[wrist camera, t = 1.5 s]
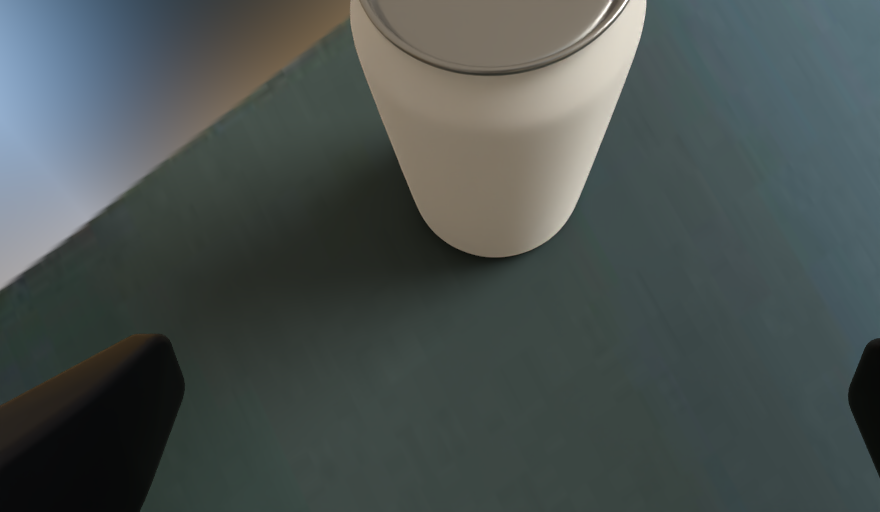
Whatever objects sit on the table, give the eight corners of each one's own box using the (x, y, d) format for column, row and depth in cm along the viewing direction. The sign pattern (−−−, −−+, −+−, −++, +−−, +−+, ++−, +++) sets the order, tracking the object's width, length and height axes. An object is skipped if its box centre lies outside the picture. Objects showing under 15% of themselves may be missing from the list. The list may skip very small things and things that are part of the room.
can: (431, 96, 24) (369, -199, 12) (590, 117, 23) (686, -180, 11) (397, 245, 22) (290, 70, 11) (566, 274, 21) (649, 117, 10)
